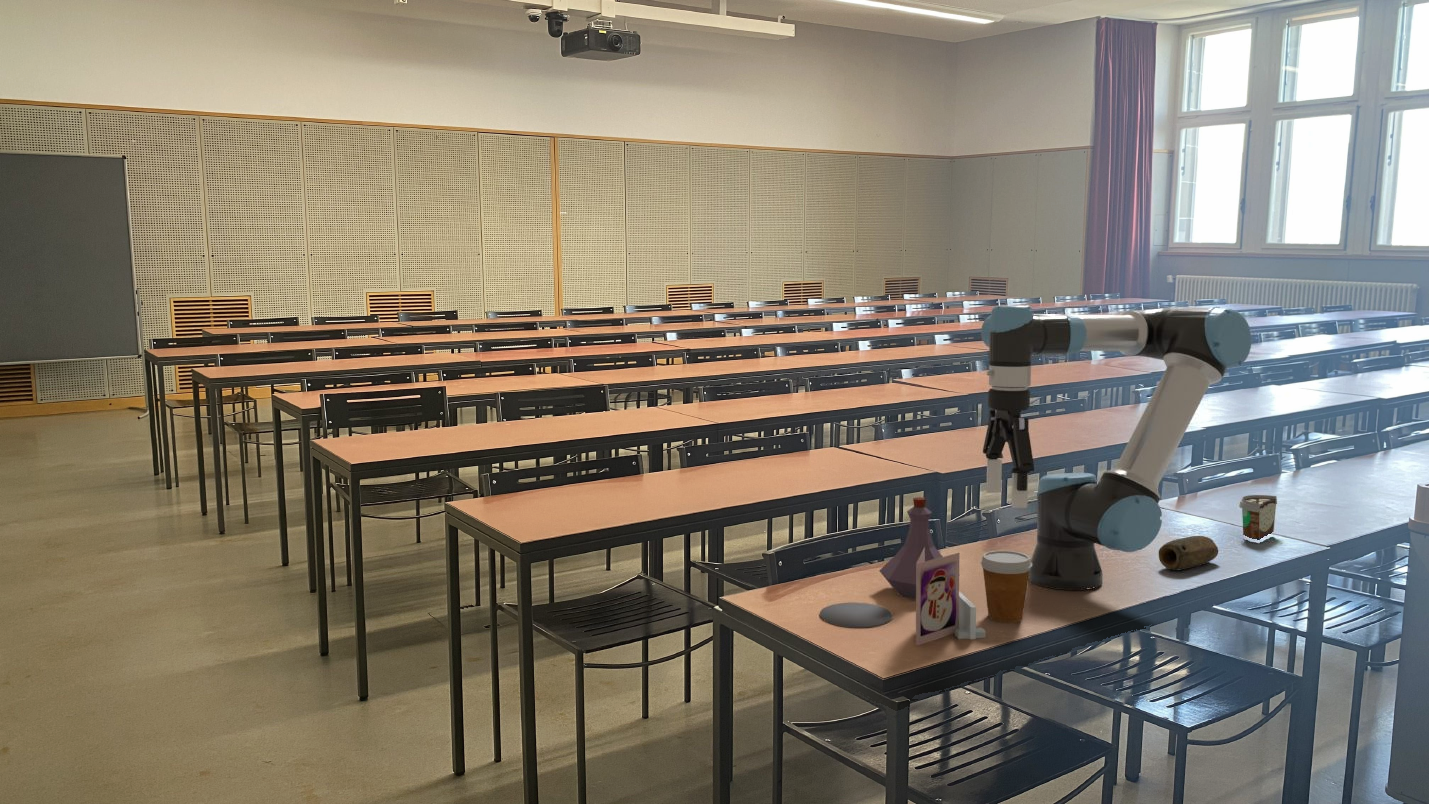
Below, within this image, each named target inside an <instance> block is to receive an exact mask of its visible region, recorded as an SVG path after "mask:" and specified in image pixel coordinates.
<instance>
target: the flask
mask: <svg viewBox="0 0 1429 804" xmlns="http://www.w3.org/2000/svg"><path fill="white" fill-rule="evenodd" d="M912 501H913V506H912V507H911V508H909V509H908V510H906V512H907V515H908V517H909V519H910V520H909V528H908V532H907V535H906V538H905V542H904V544H903V545H902V547H901V548H900V549H899V550H898V551H897V552H896V554H895V555H894V556H893V557H892V558H890V560H889V561H888V562H887V563H885V565H883V567H881V568H880V569H879V572H880V574H881V575H882V576H883V577H884V579H885V580H886V581H887V582H888V583H889V585H890V586H891V587H892V588H893V590H894V591H895V592H896V593H897V594H898V595H899V596H900V597H901V598H906V599H910V600H915V601H916V563H917V561H918V559H919V557H920V555H921V553H922V551H923V549H924V547H925V562H926V561H929V560H933V559H937V558H941V557H944V556H943V555H942V554H941V552H940V551H939V550H938V549H937V548H936V546H935V545H934V540H933V537H932V533H931V530H930V522H929V520H930V517H931V516H932V514H933V512H932V511H931V510H930V509H928V508H927V507H926V502H927V499H926V498H925V497H922V496H921V497H913V499H912ZM960 575H961V574H959V577H960Z"/></svg>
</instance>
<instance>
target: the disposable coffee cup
mask: <svg viewBox="0 0 1429 804" xmlns="http://www.w3.org/2000/svg"><path fill="white" fill-rule="evenodd" d="M1030 560H1031V558H1030V555H1028V554H1025V553H1024V552H1019V551H1018V552H1017V551H1012V550H991V551H987V552H985V553H983V554H982V558H981V560H980V565H981V567H982V571H983V573H982V574H983V580H984V581H983V582H984V589H985V597H986V598H985V599H986V605H987V606H986V607H987V615H988V618H989V619H990V620H993V621H995V622H998V621H999V623H1005V622H1007V623H1008V622H1012V623H1017V622H1020V621H1022V620H1023V618H1024V617H1023V616H1024V610H1025V609H1024V608H1025V603H1026V598H1027V589H1028V583H1029V579H1028V578H1029V571H1030V570H1031V567H1032V563H1031V561H1030ZM1007 623H1006V624H1007Z"/></svg>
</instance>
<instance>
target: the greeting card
mask: <svg viewBox="0 0 1429 804" xmlns="http://www.w3.org/2000/svg"><path fill="white" fill-rule="evenodd" d="M959 575H960V552H956V553H953V554H952V553H951V554H949V555H945V556H943V557H941V558H937V559H933V560H929V561H926V562H925V547H924V549H923V551H922V553H921V555H920V557H919V559H918V561H917V563H916V600H915V646H920V645H923V644H926V643H929V642H932V641H934V640H938V639H941V638H944V637H947V636H950V635H953V634H955V629H960V628H959V591H960V576H959Z"/></svg>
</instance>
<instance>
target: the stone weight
mask: <svg viewBox="0 0 1429 804" xmlns="http://www.w3.org/2000/svg"><path fill="white" fill-rule="evenodd" d="M1218 554H1219V548H1218V546H1217V545H1216V543H1215V541H1214V540H1213V539H1212V538H1210V537H1208V536H1206V535H1205V536H1204V535H1193V536H1192V535H1191V536H1187V537H1183V538H1182V537H1181V538H1177V539H1174V540H1170V541H1168V542H1166V543H1164V544H1163V545H1162V546H1161V547H1160V548H1159V550H1158V559H1159V562H1160V564H1161V565H1162V566H1164V567H1165V568H1167V569H1168V568H1170V569H1174V570H1173V571H1179V570H1178V569H1183V570H1186V569H1185V568H1187V569H1190V568H1189V567H1191V568H1194V566H1195V567H1198V566H1201V565H1200V564H1202V565H1204V563H1205V564H1207V563H1209V562H1211V561H1213V560H1214V559H1216V557H1218ZM1197 565H1198V566H1197ZM1170 569H1169V570H1170Z"/></svg>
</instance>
